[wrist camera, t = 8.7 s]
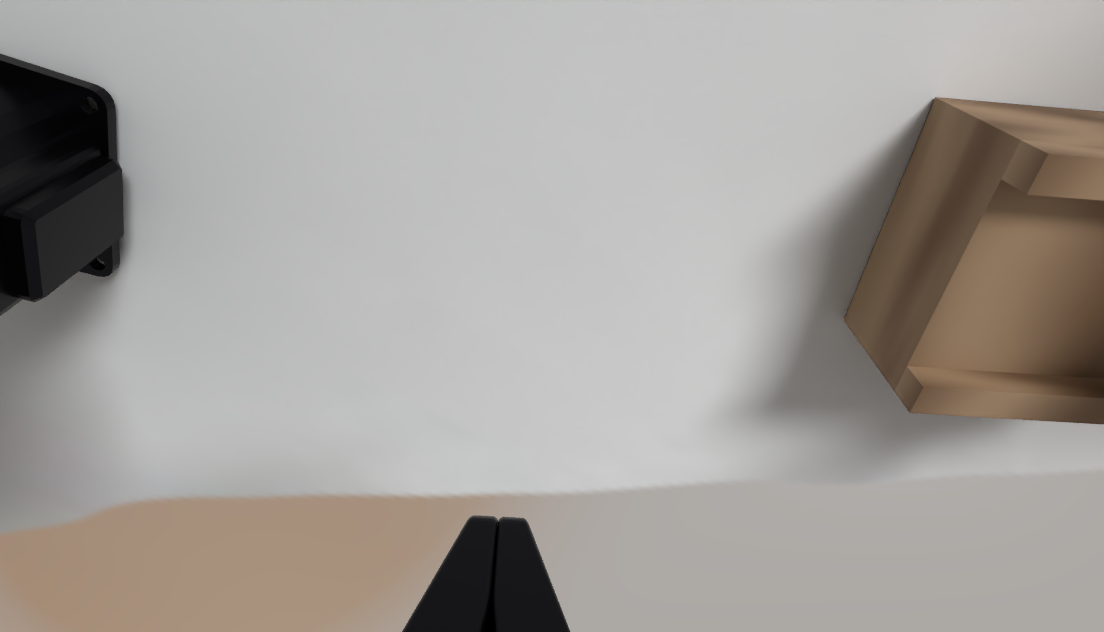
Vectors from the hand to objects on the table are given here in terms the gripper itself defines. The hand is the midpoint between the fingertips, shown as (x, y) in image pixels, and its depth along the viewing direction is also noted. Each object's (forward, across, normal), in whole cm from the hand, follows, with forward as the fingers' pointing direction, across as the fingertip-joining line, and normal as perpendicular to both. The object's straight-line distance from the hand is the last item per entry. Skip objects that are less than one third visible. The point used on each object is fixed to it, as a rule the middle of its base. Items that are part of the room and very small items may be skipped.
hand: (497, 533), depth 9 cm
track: (+13, -17, 0) cm, 21 cm away
